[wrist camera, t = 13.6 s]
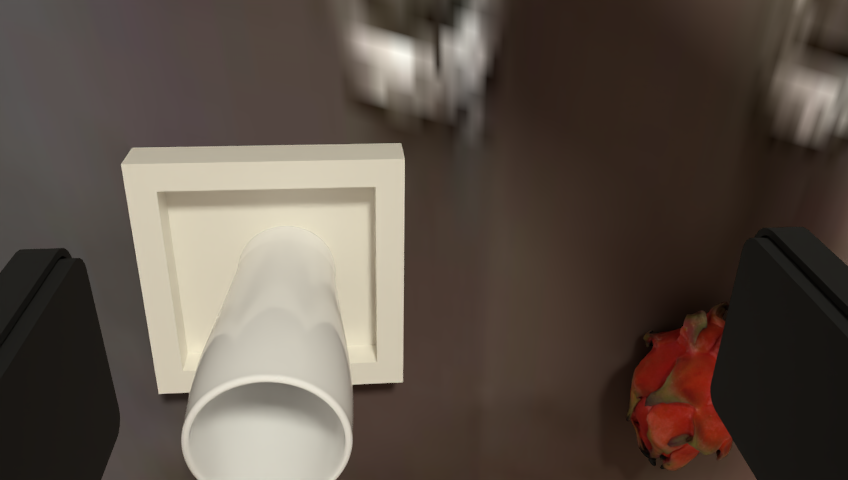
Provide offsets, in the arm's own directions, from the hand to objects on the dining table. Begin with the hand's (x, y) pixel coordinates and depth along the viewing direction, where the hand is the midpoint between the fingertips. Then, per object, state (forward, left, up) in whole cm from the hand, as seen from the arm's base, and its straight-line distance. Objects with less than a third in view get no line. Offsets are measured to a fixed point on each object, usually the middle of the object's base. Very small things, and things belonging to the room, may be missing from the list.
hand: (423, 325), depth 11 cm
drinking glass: (+4, +15, -30) cm, 34 cm away
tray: (+5, +15, -30) cm, 34 cm away
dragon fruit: (-20, +23, -31) cm, 43 cm away
